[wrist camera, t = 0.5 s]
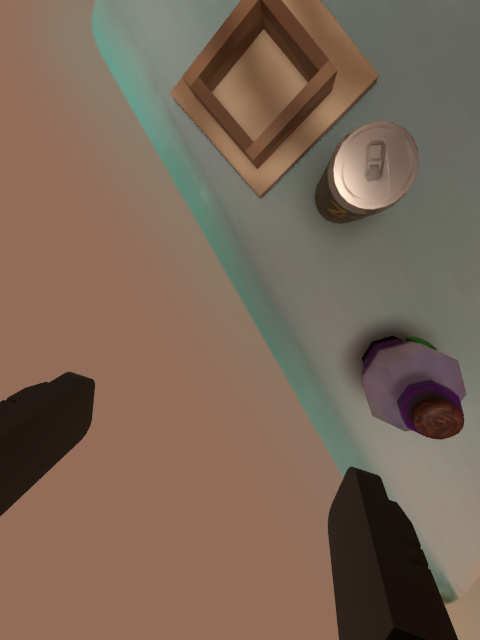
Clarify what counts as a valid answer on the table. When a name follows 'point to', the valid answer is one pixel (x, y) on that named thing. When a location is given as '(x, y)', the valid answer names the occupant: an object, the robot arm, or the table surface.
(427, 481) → the table surface
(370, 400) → the potion bottle
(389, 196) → the beer can
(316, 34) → the can caddy
